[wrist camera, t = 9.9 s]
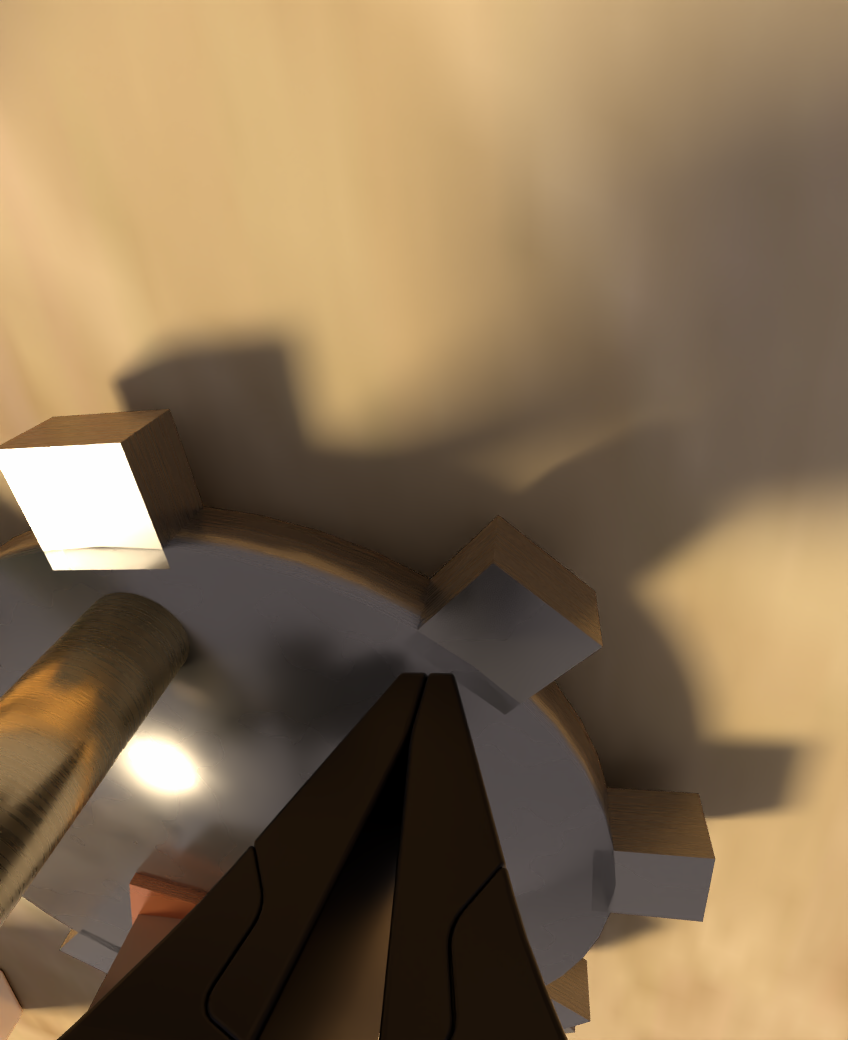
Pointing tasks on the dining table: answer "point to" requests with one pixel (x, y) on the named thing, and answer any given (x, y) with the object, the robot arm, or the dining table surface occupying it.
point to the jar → (8, 1008)
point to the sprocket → (282, 699)
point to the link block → (136, 948)
